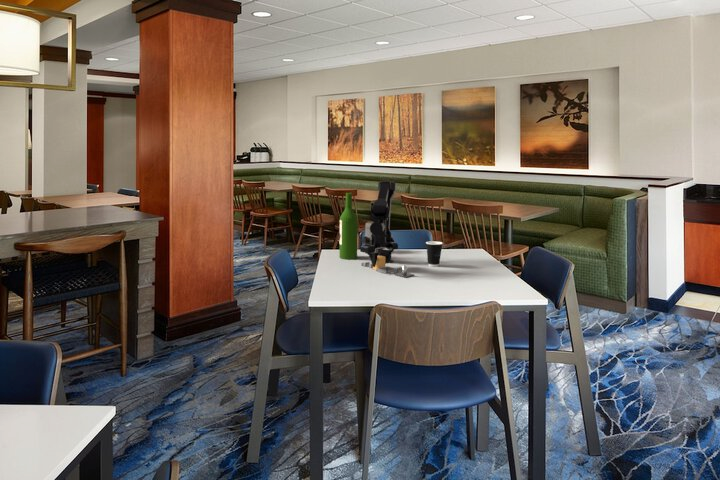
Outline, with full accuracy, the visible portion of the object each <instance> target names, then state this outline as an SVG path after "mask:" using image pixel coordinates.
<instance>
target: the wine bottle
mask: <svg viewBox="0 0 720 480" xmlns="http://www.w3.org/2000/svg"><path fill="white" fill-rule="evenodd" d="M358 224H359V223H358V217H357V215H356V213H355V211H354V210H353V193H352V192H346V193H345V208H344V210H343V212H342V214H341V215H340V217H339V256H338V257H339V259H341V260H355V259H357V258H358V230H359V229H358Z"/></svg>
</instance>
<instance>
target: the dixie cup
mask: <svg viewBox="0 0 720 480" xmlns="http://www.w3.org/2000/svg"><path fill="white" fill-rule="evenodd" d="M425 244H426V254H427V255H426V256H427V264H428V266H429V267H432V266H433V267H436V266H437V267H439V265H440V262H441V255H442V247H443V244H444V243H443V242H442V241H433V240H431V241H426V242H425ZM437 267H436V268H437Z"/></svg>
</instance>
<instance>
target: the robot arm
mask: <svg viewBox="0 0 720 480" xmlns="http://www.w3.org/2000/svg"><path fill="white" fill-rule="evenodd" d="M377 187H378V188H377V190H378V195H377V199H376V200H375V201H374V202H373V205H372V206H371V208H370V214H369V215H370V216H369V220H370V221H372V222H373V223H372V224H371V226H370V232H371V233H372V234H371V237H370V238H367V236H362V237H361V243H362V244H363V245H361V246H360V248H359V251H360V252H362V253H365V254H367V255H368V256H369V259H370V262H371V264H372V265H373V267H375V266H376V261H377V256H378V255H381V256H385V265H386V264H387V263H393V262H394V259H393V260H392V253H393V252H394V250H398V249H399V244H398V243H397V242H396V241H395V239H394V237H393V234H392V232H391V230H390V227H391V226H390V225H391V209H392V200H393V199H394V197H395V194H396V192H397V183H396V182H394V181H390V180H381V181H379V182H378V183H377ZM371 245H373V246H371ZM376 250H378V252H377V253H376Z"/></svg>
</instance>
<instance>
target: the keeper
mask: <svg viewBox="0 0 720 480" xmlns="http://www.w3.org/2000/svg"><path fill="white" fill-rule="evenodd" d="M394 276H396V277H399V278H403V279H405V278H411V277H414V276H415V274H413V273H409V272H408V268H407V265H406V264H404V265H402V267H401V272H396V273H394Z"/></svg>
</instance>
